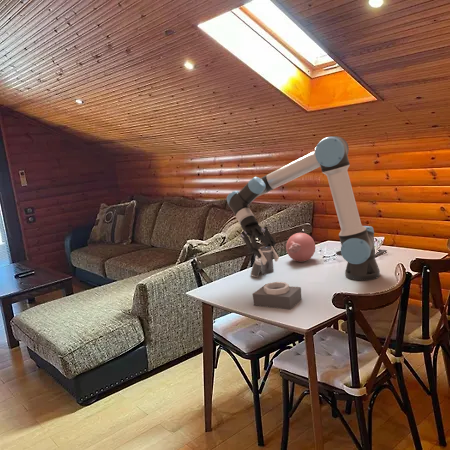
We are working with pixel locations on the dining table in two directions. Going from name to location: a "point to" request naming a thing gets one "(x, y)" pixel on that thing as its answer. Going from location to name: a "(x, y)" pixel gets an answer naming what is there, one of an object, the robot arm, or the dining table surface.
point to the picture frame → (375, 254)
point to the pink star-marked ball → (300, 247)
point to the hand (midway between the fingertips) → (271, 261)
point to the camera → (256, 267)
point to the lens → (269, 264)
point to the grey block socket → (277, 295)
